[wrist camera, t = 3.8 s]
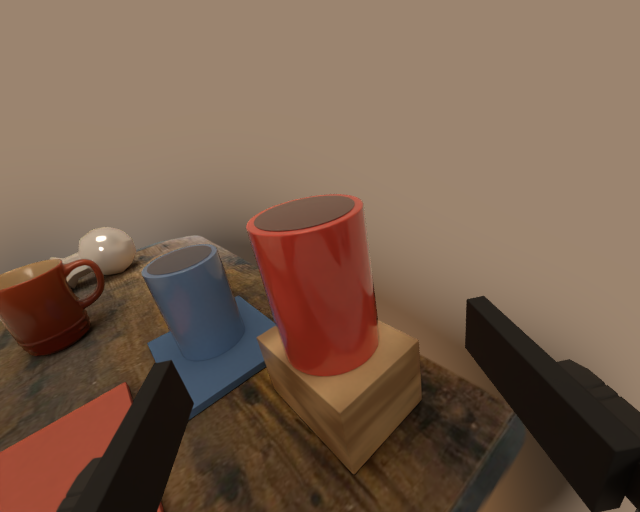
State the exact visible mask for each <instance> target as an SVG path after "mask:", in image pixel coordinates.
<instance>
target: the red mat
mask: <svg viewBox="0 0 640 512" xmlns="http://www.w3.org/2000/svg"><path fill="white" fill-rule="evenodd" d="M132 402H133V400H132V396H131V393H130V389H129V386H128V385H127V383H126V382H124V383H123V384H121V385H119V386H117V387H115V388H114V389H112V390H110V391H108V392H107V393H105V394H103V395H101V396H99V397H98V398H96V399H94V400H92V401H91V402H89V403H87V404H85V405H84V406H82V407H80V408H78V409H76V410H75V411H73V412H71V413H69V414H68V415H66V416H64V417H62V418H60V419H59V420H57V421H55V422H53V423H52V424H50V425H48V426H46V427H44V428H43V429H41V430H39V431H37V432H36V433H34V434H32V435H30V436H29V437H27V438H25V439H23V440H21V441H20V442H18V443H16V444H14V445H13V446H11V447H9V448H7V449H5V450H4V451H2V452H0V512H56V510H57V508H58V507H59V505H60V503H61V502H62V500H63V499H64V498H65V497H66V493H67V492H68V490H69V488H70V487H71V485H72V483H73V482H74V480H75V478H76V477H77V475H78V474H79V473H80V472H81V471H82V470H83V469H84V468H85V467H86V465H87V464H88V463H89V462H90V461H91V460H92V459H93V458H98V457H102V456H103V454H104V452H105V451H106V449H107V447H108V445H109V443H110V442H111V440H112V438H113V436H114V435H115V433H116V431H117V429H118V427H119V426H120V424H121V422H122V420H123V418H124V417H125V415H126V413H127V411H128V410H129V408H130V406H131V404H132ZM157 512H164V510H163V506H162V503H161V502H160V505H159V508H158V511H157Z"/></svg>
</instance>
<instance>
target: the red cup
mask: <svg viewBox="0 0 640 512" xmlns="http://www.w3.org/2000/svg"><path fill="white" fill-rule="evenodd" d="M246 229H247V233H248V236H249V239H250V243H251V246H252V249H253V252H254V256H255V259H256V262H257V265H258V269H259V272H260V275H261V278H262V282H263V285H264V288H265V292H266V295H267V298H268V301H269V305H270V308H271V311H272V314H273V318H274V321H275V324H276V327H277V331H278V334H279V337H280V341H281V344H282V347H283V350H284V354H285V356H286V359H287V360H288V362H289V363H290V364H291V365H292V366H293V367H294V368H296V369H297V370H299V371H301V372H303V373H306V374H309V375H314V376H335V375H340V374H343V373H347V372H349V371H352V370H354V369H356V368H358V367H359V366H361V365H362V364H364V363H365V362H366V361H367V360H368V359H370V358H371V356H372V355H373V354H374V352H375V351H376V349H377V347H378V344H379V339H380V333H379V325H378V318H377V309H376V301H375V293H374V285H373V277H372V269H371V262H370V254H369V245H368V237H367V229H366V221H365V213H364V205H363V202H362V201H361V199H359V198H357V197H354V196H350V195H341V194H340V195H339V194H333V195H332V194H331V195H318V196H312V197H306V198H300V199H296V200H292V201H289V202H285V203H282V204H279V205H276V206H273V207H271V208H268V209H266V210H264V211H262V212H260V213H258V214H257V215H255V216H254V217H252V218H251V219H250V220H249V221H248V223H247V225H246Z"/></svg>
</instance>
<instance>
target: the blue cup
mask: <svg viewBox="0 0 640 512" xmlns="http://www.w3.org/2000/svg"><path fill="white" fill-rule="evenodd" d="M142 276H143V278H144V280H145V282H146V284H147V286H148V288H149V290H150V292H151V294H152V296H153V298H154V300H155V302H156V304H157V306H158V308H159V310H160V312H161V314H162V316H163V318H164V320H165V322H166V324H167V326H168V328H169V330H170V332H171V334H172V336H173V338H174V341H175V343H176V345H177V347H178V349H179V351H180V353H181V355H182V356H183V357H184V358H185V359H188V360H191V361H203V360H208V359H211V358H214V357H217V356H219V355H221V354H223V353H225V352H226V351H228V350H229V349H231V348H232V347H233V346H234V345H236V344H237V343H238V341H239V340H240V339H241V338H242V336H243V334H244V331H245V325H244V322H243V319H242V317H241V314H240V311H239V308H238V306H237V303H236V300H235V297H234V295H233V292H232V289H231V286H230V283H229V281H228V278H227V275H226V272H225V270H224V267H223V264H222V261H221V259H220V256H219V253H218V250H217V248H216V247H215V246H214V245H210V244H199V245H192V246H188V247H184V248H180V249H177V250H174V251H172V252H169V253H167V254H164V255H162V256H160V257H158V258H156V259H155V260H153V261H152V262H150V263H149V264H147V265H146V266H145V267H144V268H143V270H142Z"/></svg>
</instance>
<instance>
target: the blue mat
mask: <svg viewBox="0 0 640 512" xmlns="http://www.w3.org/2000/svg"><path fill="white" fill-rule="evenodd" d="M235 300H236V303H237V306H238V308H239V311H240V314H241V317H242V319H243V322H244V325H245V331H244V334H243V336H242V338H241V339H240V340H239V341H238V343H237V344H236V345H234V346H233V347H232V348H231V349H229V350H228V351H226V352H225V353H223V354H221V355H219V356H217V357H214V358H211V359H208V360H203V361H191V360H188V359H185V358H184V357H183V356H182V355H181V353H180V351H179V349H178V347H177V345H176V343H175V341H174V338H173V336H172V334H171V332H168V333H166V334H164V335H162V336H160V337H158V338H156V339H154V340H152V341H151V342H149V343H147V344H148V346H149V348H150V350H151V353H152V355H153V357H154V359H155V361H156V363H159V362H164V361H169V360H172V361H173V363H174V365H175V367H176V369H177V371H178V373H179V375H180V377H181V379H182V381H183V383H184V385H185V386H186V388H187V390H188V392H189V394H190V396H191V398H192V400H193V402H194V405H193V408H192V411H191V414H190V417H189V420H190V419H191V418H193V417H194V416H195V415H197V414H198V413H200V412H201V411H203V410H204V409H206V408H207V407H208V406H210V405H211V404H213V403H214V402H216V401H217V400H219V399H220V398H221V397H223V396H224V395H226V394H227V393H229V392H230V391H232V390H233V389H234V388H236V387H237V386H239V385H240V384H242V383H243V382H244V381H246V380H247V379H249V378H250V377H252V376H253V375H255V374H256V373H257V372H259V371H260V370H262V369H263V368H265V367H266V364H265V361H264V358H263V355H262V353H261V350H260V347H259V344H258V341H257V337H258V336H260V335H261V334H263V333H265V332H266V331H268V330H269V329H271V328H273V327H274V326H276V324H275V323H274V322H273V321H271V320H270V319H269V318H267V317H266V316H265V315H263V314H262V313H261V312H259V311H258V310H257V309H255V308H254V307H253V306H251V305H250V304H249V303H247V302H246V301H245V300H243V299H242V298H241V297H240V296H237V297H235Z"/></svg>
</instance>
